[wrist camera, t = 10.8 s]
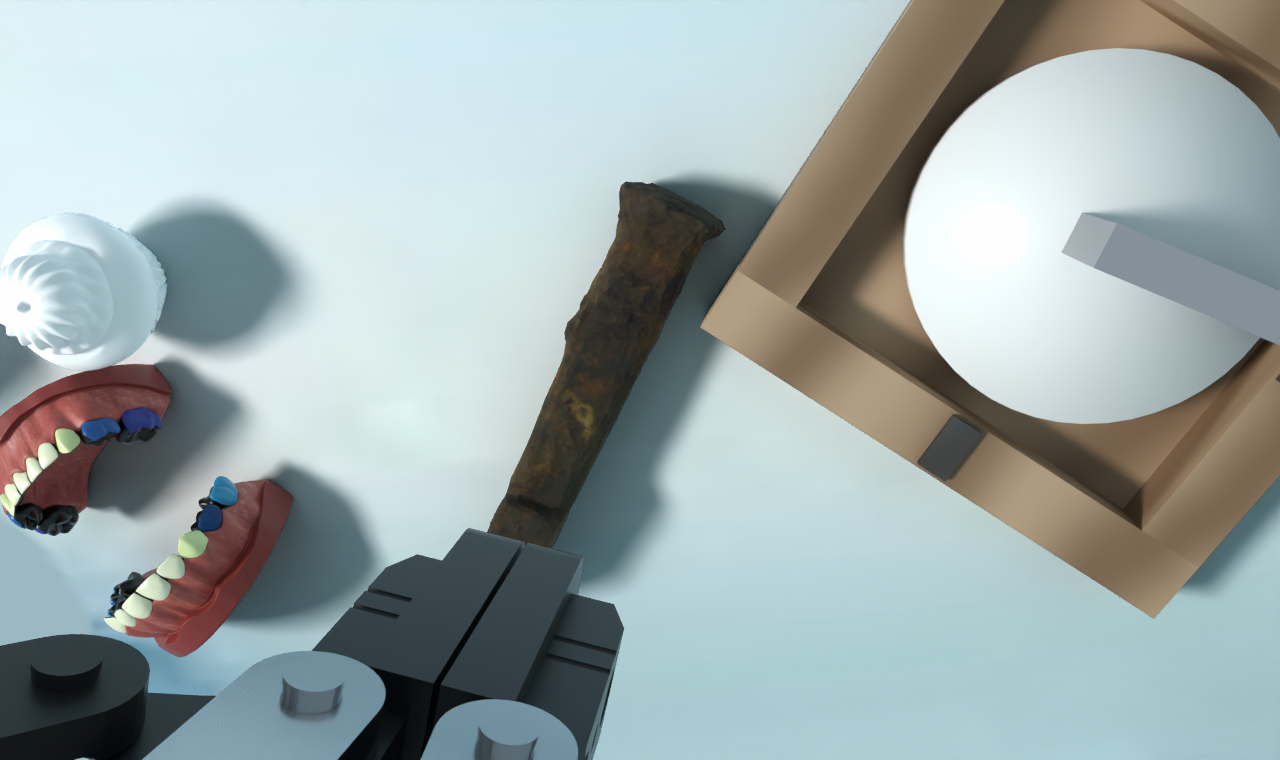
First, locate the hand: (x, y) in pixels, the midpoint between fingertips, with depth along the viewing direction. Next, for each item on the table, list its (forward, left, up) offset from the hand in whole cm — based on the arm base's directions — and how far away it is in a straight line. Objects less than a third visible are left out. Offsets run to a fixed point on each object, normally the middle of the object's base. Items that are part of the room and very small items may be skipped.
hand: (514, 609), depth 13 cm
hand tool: (0, -7, -30) cm, 30 cm away
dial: (+11, +9, -29) cm, 32 cm away
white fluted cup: (-20, -13, -29) cm, 38 cm away
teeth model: (-15, -21, -29) cm, 39 cm away
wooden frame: (+11, +9, -29) cm, 32 cm away
